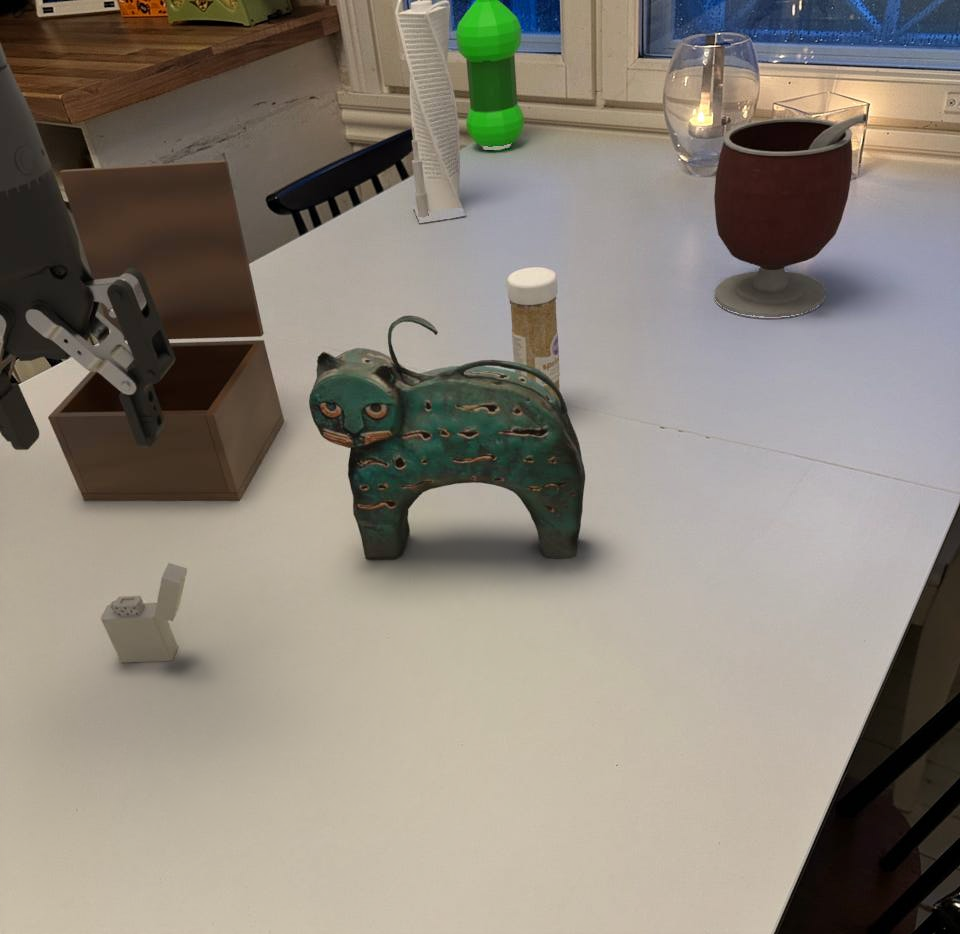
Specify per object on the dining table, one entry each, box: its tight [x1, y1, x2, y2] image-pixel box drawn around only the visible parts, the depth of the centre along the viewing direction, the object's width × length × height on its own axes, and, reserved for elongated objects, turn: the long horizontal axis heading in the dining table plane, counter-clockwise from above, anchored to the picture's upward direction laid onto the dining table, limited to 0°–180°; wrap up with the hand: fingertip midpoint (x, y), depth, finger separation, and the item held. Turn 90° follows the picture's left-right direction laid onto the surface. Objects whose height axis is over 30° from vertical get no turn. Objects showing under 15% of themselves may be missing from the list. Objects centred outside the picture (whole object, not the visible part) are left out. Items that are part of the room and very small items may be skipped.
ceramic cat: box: [308, 315, 586, 560], centre depth 73 cm, size 20×6×20 cm, turn 82°
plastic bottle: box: [455, 0, 525, 152], centre depth 158 cm, size 10×10×25 cm
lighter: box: [100, 562, 188, 664], centre depth 70 cm, size 7×2×8 cm, turn 87°
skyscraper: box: [394, 0, 467, 225], centre depth 134 cm, size 8×8×28 cm
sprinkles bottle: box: [506, 266, 561, 402], centre depth 91 cm, size 5×5×13 cm
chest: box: [47, 339, 285, 501], centre depth 92 cm, size 15×16×9 cm
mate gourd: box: [713, 113, 868, 320], centre depth 103 cm, size 16×14×20 cm
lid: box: [59, 159, 265, 342], centre depth 89 cm, size 15×16×1 cm
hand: (88, 442), depth 61 cm, fingers open, 8 cm apart
